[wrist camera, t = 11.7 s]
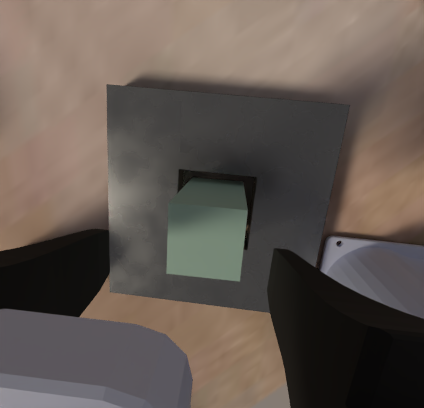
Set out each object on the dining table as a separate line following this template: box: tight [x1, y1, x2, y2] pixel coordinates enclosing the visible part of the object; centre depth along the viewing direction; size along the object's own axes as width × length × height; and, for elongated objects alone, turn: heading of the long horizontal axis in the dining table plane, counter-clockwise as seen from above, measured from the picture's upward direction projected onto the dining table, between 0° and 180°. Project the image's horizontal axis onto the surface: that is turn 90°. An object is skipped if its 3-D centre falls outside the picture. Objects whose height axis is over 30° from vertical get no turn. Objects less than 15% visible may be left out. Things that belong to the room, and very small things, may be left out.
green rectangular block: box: [166, 177, 248, 282], centre depth 18 cm, size 4×4×8 cm
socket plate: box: [107, 84, 350, 313], centre depth 21 cm, size 16×16×2 cm
